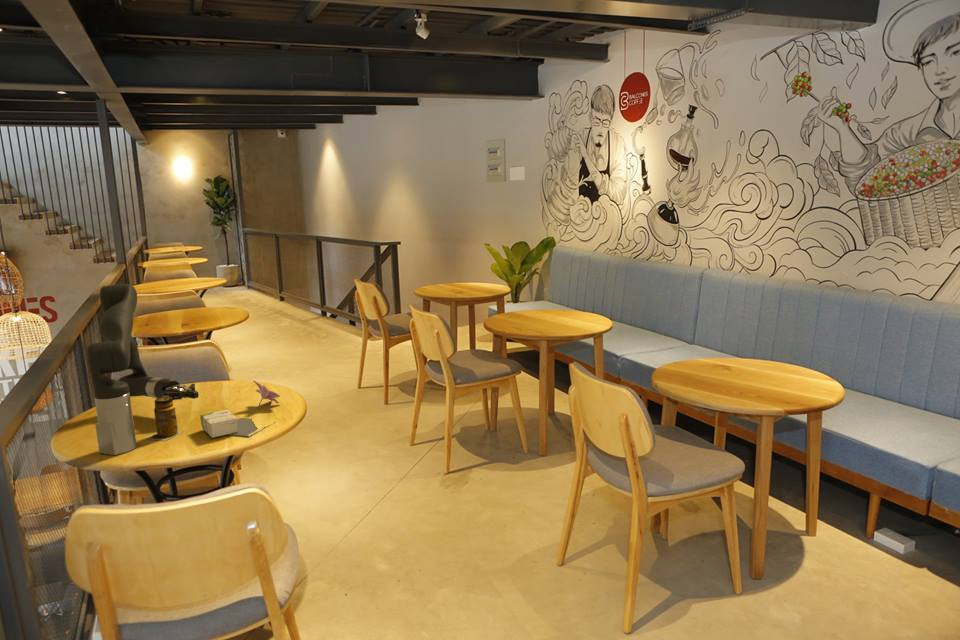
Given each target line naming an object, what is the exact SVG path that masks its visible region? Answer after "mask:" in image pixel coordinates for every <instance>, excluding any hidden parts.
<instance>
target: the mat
mask: <svg viewBox="0 0 960 640" xmlns="http://www.w3.org/2000/svg"><path fill="white" fill-rule="evenodd" d="M252 419H253V418H247V417H239V418H237V420H238V429H239V431H238V432H236V433H231V434H227V435H226V436H232V437H233V436H234V437H241V438H242V437H243V438H251V437H252V435H253V434H254V435H256V434H257V433H256V432H257V431H259V430H260V429H258V428H257V427H256V426H255V424H254V422H253V421H252ZM265 427H266V426H265ZM262 428H263V427H262ZM257 429H258V430H257ZM255 433H256V434H255ZM254 435H253V436H254ZM250 436H251V437H250Z"/></svg>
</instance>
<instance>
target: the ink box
mask: <svg viewBox="0 0 960 640" xmlns="http://www.w3.org/2000/svg"><path fill="white" fill-rule="evenodd" d="M200 423H201V428H202V430H204V431H205V432H206V433H207V434H208V435H209V436H210V438H217V437H221V436H222V437H223V436H228V435H227V434H231V433H236V432H238V431H239V429H238V418H237V416H235V415H234V414H233V413H232V412H230V411H229V410H228V409H221V410H218V411H214V412H213V411H212V412H209V413H204V414H200Z"/></svg>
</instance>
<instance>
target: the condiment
mask: <svg viewBox="0 0 960 640" xmlns="http://www.w3.org/2000/svg"><path fill="white" fill-rule="evenodd" d="M153 411H154V420H155V426H156V434H153V435H150V436H148V437H147V438H146V439H147V440H150V441H151V440H152V441H161V442H162V441H165V442H166V441H168V440H170V439H172V438H174V437H176V436H178V435H180V434H182V433H184V432H185V431H184V430H179V429H178V422H177V414H176V413H177V412H176V406H175V405H174V400H173V399H172V397H161V398H158V399H154V409H153Z"/></svg>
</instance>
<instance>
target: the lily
mask: <svg viewBox="0 0 960 640" xmlns="http://www.w3.org/2000/svg"><path fill="white" fill-rule="evenodd" d="M252 382H254V383H255V385H256V386H257V387H258V389H256V390H255V392H256V393H259V394H260V395H261V399H260V401H259V404H258V407H257V409H258V408H260V405H261V404H262V401H263V400H268V401H269V400H271V401H272V402H274V403H276V404H278V403H279V404H280V402H279V401H278V400H277V399H278V398H280V397H281V395H280V394H278V393H277V392H275V391H272V390H269V389H268V388H267V387H266V386H265V385H261V384H260V383H259V382H257V381H256V380H252Z"/></svg>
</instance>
